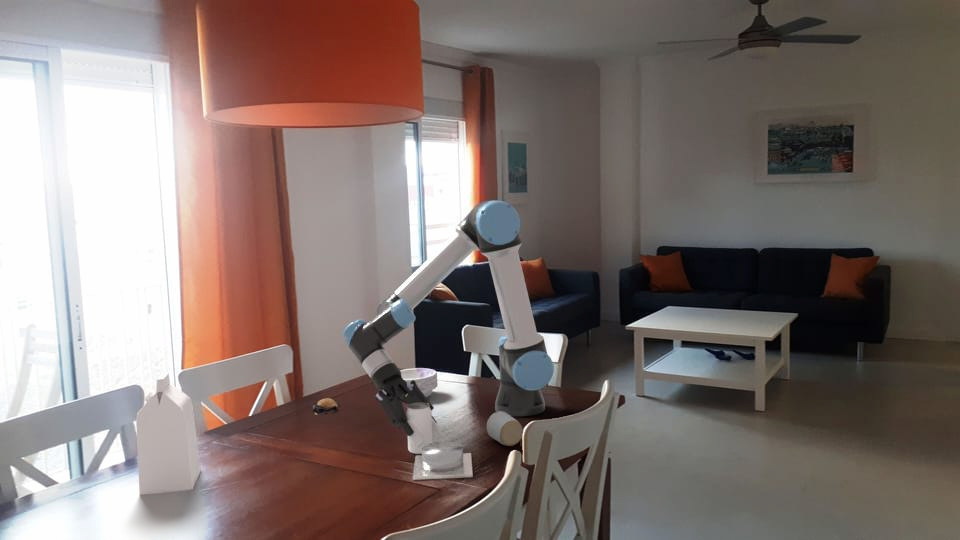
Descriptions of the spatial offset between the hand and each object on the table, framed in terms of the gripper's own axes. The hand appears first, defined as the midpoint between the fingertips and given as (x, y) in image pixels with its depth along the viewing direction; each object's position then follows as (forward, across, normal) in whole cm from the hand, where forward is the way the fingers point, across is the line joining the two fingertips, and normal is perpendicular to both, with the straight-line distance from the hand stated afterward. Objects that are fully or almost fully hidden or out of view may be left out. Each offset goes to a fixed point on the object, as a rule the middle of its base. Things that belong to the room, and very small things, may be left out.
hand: (430, 439), depth 191 cm
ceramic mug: (+11, -18, +6) cm, 22 cm away
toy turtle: (-36, -12, -42) cm, 56 cm away
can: (0, 0, -5) cm, 5 cm away
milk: (-25, +49, -31) cm, 63 cm away
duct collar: (+9, +6, +4) cm, 12 cm away
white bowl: (-26, -37, -31) cm, 55 cm away
